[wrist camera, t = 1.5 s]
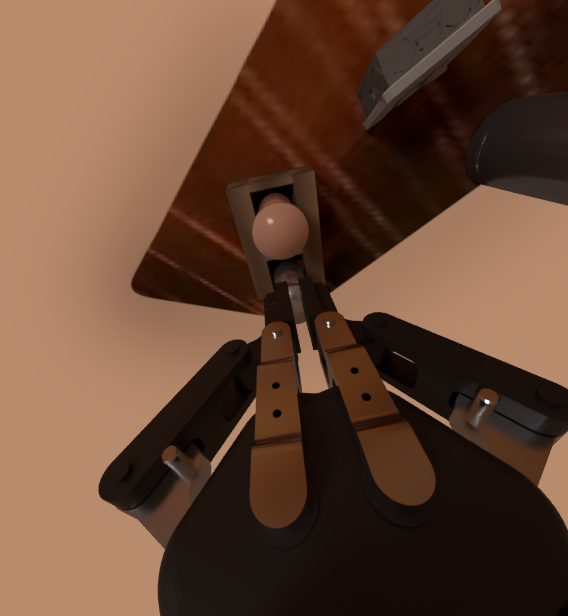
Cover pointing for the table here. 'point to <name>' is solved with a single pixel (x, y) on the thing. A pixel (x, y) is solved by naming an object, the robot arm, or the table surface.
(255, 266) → the socket board
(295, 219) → the terracotta plug
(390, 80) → the electrical switch
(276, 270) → the grey plug
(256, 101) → the table surface
